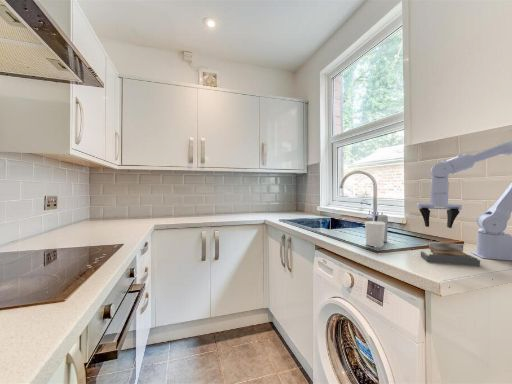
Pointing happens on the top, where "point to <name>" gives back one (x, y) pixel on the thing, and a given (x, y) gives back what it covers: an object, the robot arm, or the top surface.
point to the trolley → (447, 249)
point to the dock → (450, 259)
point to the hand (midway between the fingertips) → (438, 227)
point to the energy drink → (384, 219)
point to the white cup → (375, 233)
